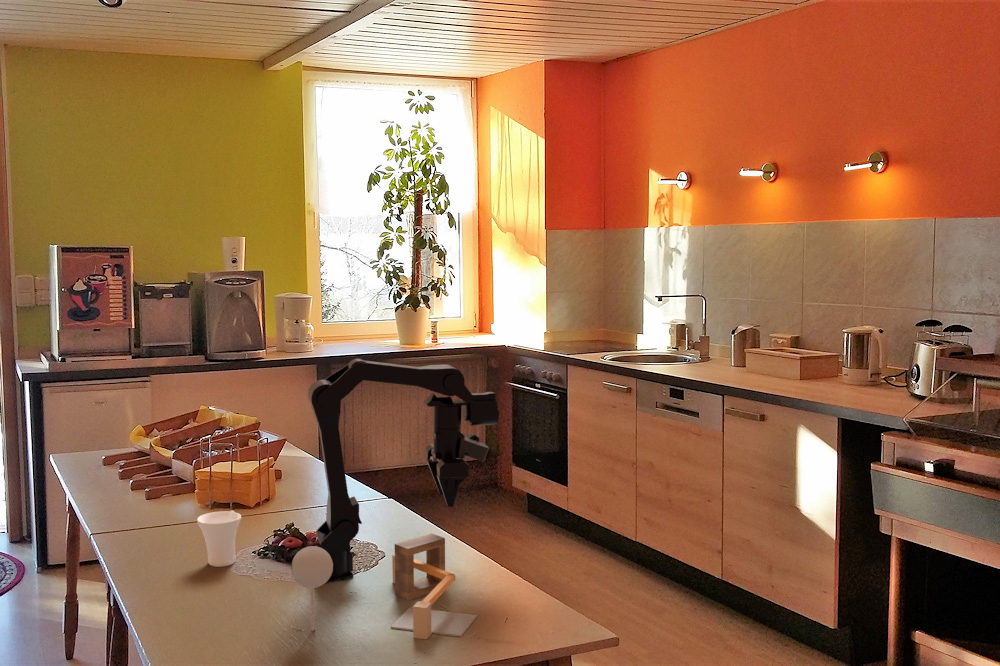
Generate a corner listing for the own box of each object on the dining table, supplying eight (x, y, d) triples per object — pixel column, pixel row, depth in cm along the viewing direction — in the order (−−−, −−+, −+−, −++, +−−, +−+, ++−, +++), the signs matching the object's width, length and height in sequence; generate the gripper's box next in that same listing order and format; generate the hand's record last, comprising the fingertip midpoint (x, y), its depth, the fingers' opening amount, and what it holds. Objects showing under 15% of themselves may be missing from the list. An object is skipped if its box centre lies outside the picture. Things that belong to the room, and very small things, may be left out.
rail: (417, 641, 168) (417, 609, 168) (358, 587, 193) (357, 560, 192) (485, 626, 175) (485, 595, 174) (420, 576, 199) (419, 549, 199)
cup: (252, 558, 210) (251, 512, 209) (222, 572, 201) (221, 524, 200) (219, 552, 214) (217, 507, 212) (189, 565, 205) (187, 519, 204)
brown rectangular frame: (395, 594, 190) (394, 543, 189) (432, 582, 196) (431, 533, 195) (408, 600, 187) (407, 548, 186) (445, 587, 193) (444, 538, 192)
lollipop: (295, 622, 176) (293, 541, 174) (335, 621, 177) (334, 540, 175) (290, 639, 169) (288, 554, 167) (332, 638, 170) (330, 553, 168)
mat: (409, 608, 182) (409, 607, 182) (476, 616, 179) (476, 615, 179) (390, 628, 174) (390, 626, 174) (461, 636, 170) (461, 635, 170)
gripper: (496, 434, 196) (494, 511, 198) (476, 416, 214) (475, 487, 216) (440, 436, 193) (439, 514, 195) (425, 418, 211) (424, 489, 213)
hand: (446, 500), depth 205 cm, fingers open, 9 cm apart
